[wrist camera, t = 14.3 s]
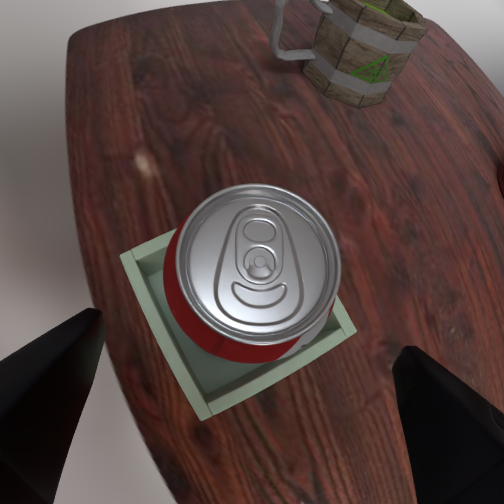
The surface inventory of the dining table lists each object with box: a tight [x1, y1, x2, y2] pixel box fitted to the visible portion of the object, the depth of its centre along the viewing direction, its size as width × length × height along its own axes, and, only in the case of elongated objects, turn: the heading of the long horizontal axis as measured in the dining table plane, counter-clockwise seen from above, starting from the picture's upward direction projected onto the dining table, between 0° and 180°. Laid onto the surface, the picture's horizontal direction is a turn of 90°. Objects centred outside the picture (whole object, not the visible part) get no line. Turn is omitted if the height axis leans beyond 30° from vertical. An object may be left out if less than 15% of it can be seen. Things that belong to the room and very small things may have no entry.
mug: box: [269, 0, 428, 108], centre depth 26 cm, size 16×11×12 cm
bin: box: [120, 228, 357, 421], centre depth 20 cm, size 11×11×5 cm
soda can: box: [163, 183, 341, 364], centre depth 16 cm, size 7×7×12 cm
